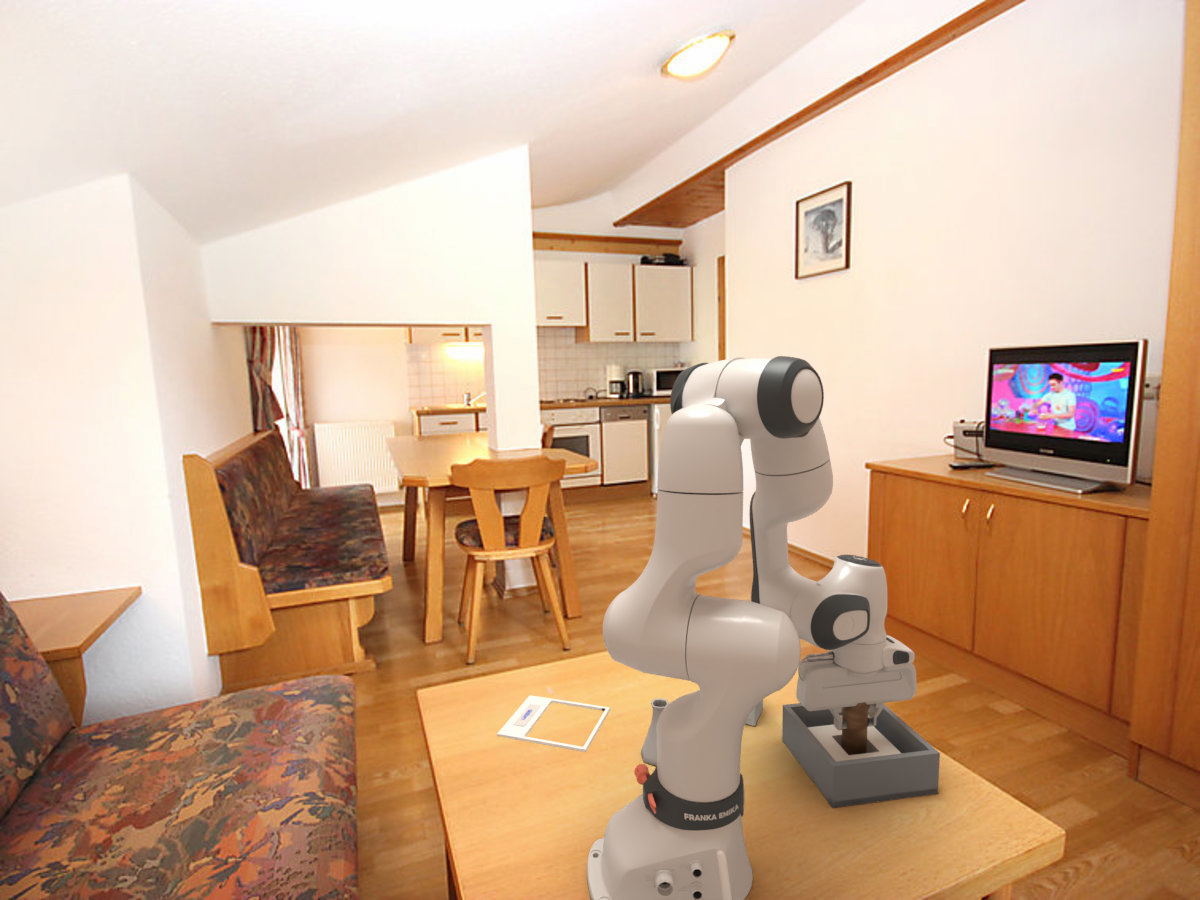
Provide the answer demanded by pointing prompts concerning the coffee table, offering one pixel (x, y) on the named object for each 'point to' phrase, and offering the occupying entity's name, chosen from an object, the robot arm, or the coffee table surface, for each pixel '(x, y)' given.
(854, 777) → the bin
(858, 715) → the peg
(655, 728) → the flask
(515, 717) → the photo frame
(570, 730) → the coffee table surface
